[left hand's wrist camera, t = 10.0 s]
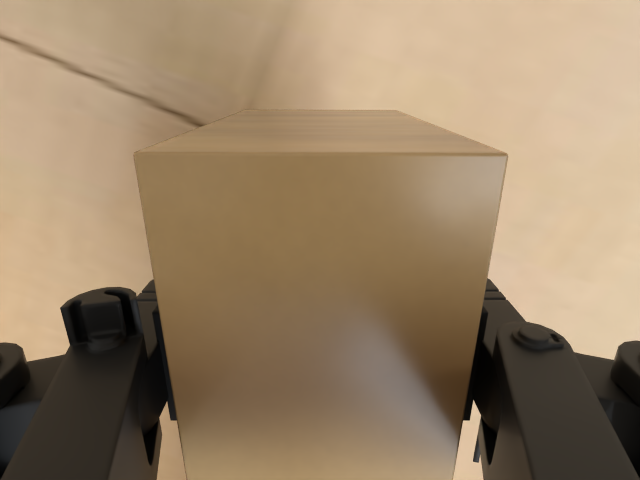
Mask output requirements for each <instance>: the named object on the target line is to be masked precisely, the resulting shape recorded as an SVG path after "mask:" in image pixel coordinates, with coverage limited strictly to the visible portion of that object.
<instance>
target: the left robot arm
mask: <svg viewBox="0 0 640 480" xmlns="http://www.w3.org/2000/svg"><path fill="white" fill-rule="evenodd" d="M60 309H61V313H62V317H63V320H64V324H65V328H66V331H67V335H68V339H69V343H70V346H69V348H68V350H67V352H66V354H65V355H60V356H56V357H50V358H45V359H40V360H34V361H29V362H27V361H26V358H25V355H24V351H23V348H21V347H20V346H19V345H17V344H13V343H0V480H156V479H157V471H158V463H159V456H160V448H161V440H162V431H161V425H160V419H159V417H160V415H161V413H162V410H163V408H164V406H165V404H166V402H168V408H169V414H170V419H171V420H177V417H176V411H175V405H174V399H173V392H172V386H171V380H170V374H169V368H168V362H167V356H166V350H165V344H164V338H163V332H162V326H161V320H160V313H159V307H158V301H157V295H156V289H155V283H154V279H153V280H152V281H150V282H149V283H148V285H147V286H146V287H145V288H144V289H143V290H142V293H140V294H139V295H138V296H136V293H135V292H134V291H132V290H131V289H127V288H122V287H106V288H101V289H96V290H91V291H88V292H85V293H83V294H80V295H77V296H76V297H74V298H72V299H70V300H68V301H67V302H66V303H65V304H64V305H63V306H62V307H61V308H60ZM473 399H474V401H475V404H476V406H477V408H478V410H479V412H480V414H481V419H480V425H479V430H478V435H477V441H476V446H475V452H474V458H473V462H478V463H479V457H480V455H481V463H482V470H483V478H484V480H640V341H629V342H624V343H623V344H621V345H620V346H619V347H618V350H617V353H616V356H615V359H614V360H611V359H605V358H600V357H595V356H589V355H584V354H579V353H575V352H573V350H572V348H571V346H570V344H569V343H568V342H567V341H566V340H565V338H564V337H563V336H561V335H560V334H558V333H556V332H555V331H553V330H551V329H549V328H546V327H544V326H541V325H539V324H534V323H529V322H526V321H525V320H524V319H523V317H522V316H521V315H520V314H519V313H518V312H517V310H516V309H515V308H514V307H513V306H512V305H511V303H510V302H509V301H508V300H506V298H505V297H504V295H503V294H502V293H501V292H499V290H498V288H497V287H496V286H495V285H494V284H493V283H492V281H491V280H490V279H488V278H487V283H486V288H485V294H484V300H483V306H482V312H481V318H480V323H479V329H478V335H477V341H476V347H475V353H474V358H473V364H472V370H471V376H470V382H469V388H468V393H467V399H466V405H465V411H464V417H463V420H470V415H471V410H472V404H473Z"/></svg>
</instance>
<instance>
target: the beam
mask: <svg viewBox="0 0 640 480" xmlns="http://www.w3.org/2000/svg"><path fill="white" fill-rule="evenodd" d="M507 160H508V154H507V153H505V152H502V151H499V150H497V149H494V148H492V147H489V146H487V145H484V144H482V143H479V142H476V141H474V140H471V139H469V138H466V137H464V136H461V135H458V134H456V133H453V132H451V131H448V130H446V129H443V128H440V127H438V126H435V125H433V124H430V123H428V122H425V121H422V120H420V119H417V118H415V117H412V116H410V115H407V114H404V113H402V112H399V111H397V110H243V111H241V112H238V113H236V114H233V115H230V116H228V117H225V118H223V119H220V120H217V121H215V122H212V123H210V124H207V125H204V126H202V127H199V128H197V129H194V130H191V131H189V132H186V133H184V134H181V135H178V136H176V137H173V138H171V139H168V140H165V141H163V142H160V143H158V144H155V145H152V146H150V147H147V148H145V149H142V150H139V151H137V152H135V153H134V161H135V167H136V174H137V180H138V186H139V192H140V198H141V204H142V210H143V216H144V222H145V228H146V234H147V240H148V247H149V253H150V259H151V265H152V271H153V277H154V283H155V289H156V295H157V301H158V307H159V313H160V320H161V326H162V332H163V338H164V344H165V350H166V356H167V362H168V368H169V374H170V380H171V386H172V392H173V399H174V405H175V411H176V417H177V423H178V429H179V435H180V441H181V447H182V453H183V459H184V465H185V472H186V478H187V480H453V475H454V469H455V464H456V458H457V452H458V446H459V440H460V434H461V428H462V423H463V417H464V411H465V405H466V399H467V393H468V388H469V382H470V376H471V370H472V364H473V358H474V353H475V347H476V341H477V335H478V329H479V323H480V318H481V312H482V306H483V300H484V294H485V288H486V283H487V277H488V271H489V265H490V259H491V253H492V248H493V242H494V236H495V230H496V224H497V218H498V213H499V207H500V201H501V195H502V189H503V183H504V178H505V172H506V166H507Z"/></svg>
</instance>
